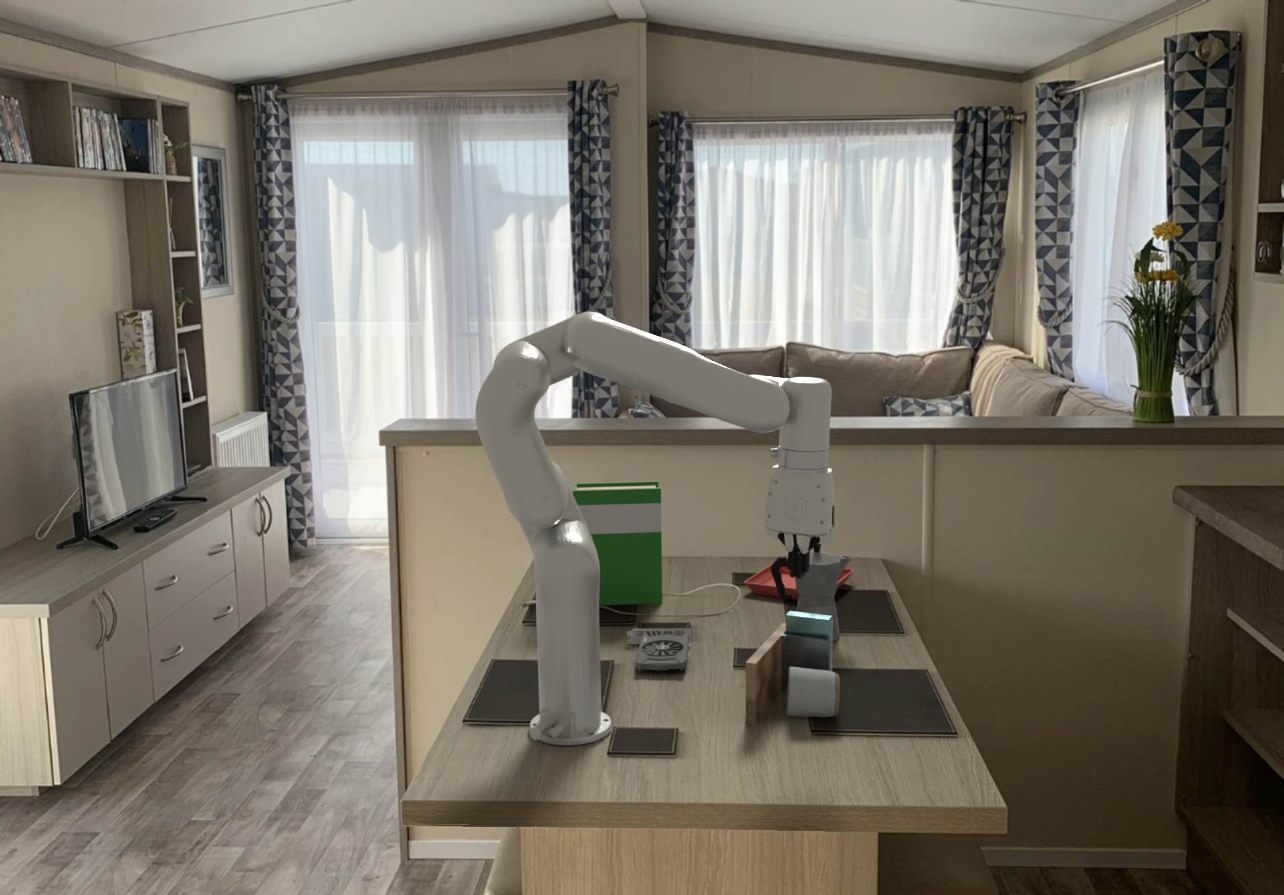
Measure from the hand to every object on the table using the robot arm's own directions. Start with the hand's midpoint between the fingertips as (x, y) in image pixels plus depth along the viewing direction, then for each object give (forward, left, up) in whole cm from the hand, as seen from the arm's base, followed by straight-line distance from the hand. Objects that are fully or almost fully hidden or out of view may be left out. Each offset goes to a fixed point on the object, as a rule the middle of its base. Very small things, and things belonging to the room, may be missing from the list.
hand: (797, 575), depth 192 cm
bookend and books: (+11, +1, -23) cm, 26 cm away
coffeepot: (+37, +8, -23) cm, 45 cm away
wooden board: (+4, +6, -23) cm, 24 cm away
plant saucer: (+65, +18, -24) cm, 72 cm away
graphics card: (+16, +30, -24) cm, 42 cm away
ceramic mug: (+3, -1, -23) cm, 24 cm away
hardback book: (+45, +51, -23) cm, 72 cm away
